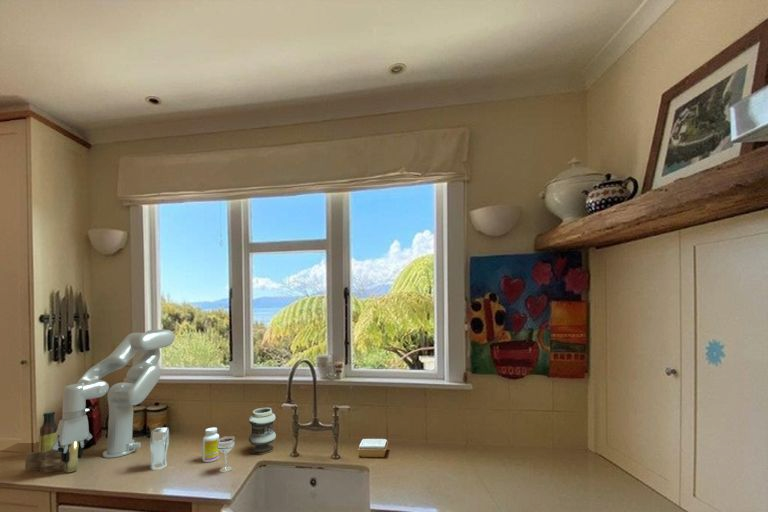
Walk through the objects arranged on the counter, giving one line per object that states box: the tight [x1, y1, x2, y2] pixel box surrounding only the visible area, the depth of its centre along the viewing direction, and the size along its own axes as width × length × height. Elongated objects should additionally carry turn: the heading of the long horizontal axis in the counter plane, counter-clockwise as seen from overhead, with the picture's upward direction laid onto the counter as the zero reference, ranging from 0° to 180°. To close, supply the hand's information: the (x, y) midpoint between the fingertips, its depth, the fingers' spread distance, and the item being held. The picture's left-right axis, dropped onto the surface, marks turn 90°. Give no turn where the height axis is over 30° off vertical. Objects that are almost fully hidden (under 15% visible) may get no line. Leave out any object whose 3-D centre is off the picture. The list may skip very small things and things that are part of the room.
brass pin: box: [64, 441, 79, 473], centre depth 159 cm, size 4×4×12 cm
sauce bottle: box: [38, 410, 58, 452], centre depth 176 cm, size 7×6×20 cm
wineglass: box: [217, 435, 236, 473], centre depth 158 cm, size 7×7×12 cm
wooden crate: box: [24, 445, 66, 474], centre depth 167 cm, size 16×16×7 cm
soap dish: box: [357, 438, 389, 458], centre depth 170 cm, size 12×10×5 cm
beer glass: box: [149, 426, 170, 471], centre depth 162 cm, size 7×7×15 cm
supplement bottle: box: [201, 427, 220, 463], centre depth 169 cm, size 7×7×13 cm
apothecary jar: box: [248, 407, 277, 455], centre depth 178 cm, size 12×12×18 cm
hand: (72, 459), depth 159 cm, fingers closed on brass pin, 4 cm apart
